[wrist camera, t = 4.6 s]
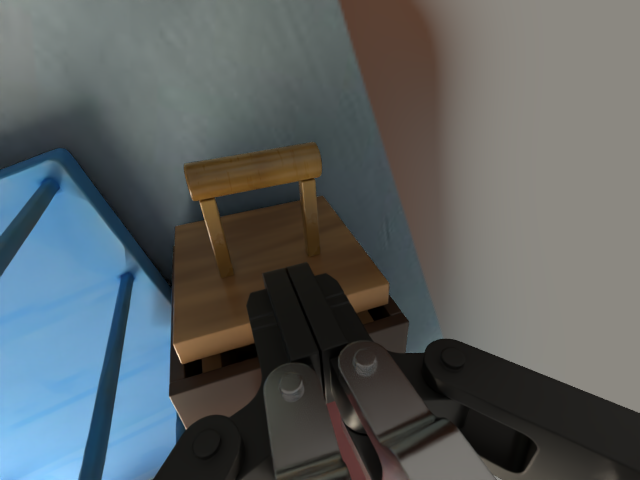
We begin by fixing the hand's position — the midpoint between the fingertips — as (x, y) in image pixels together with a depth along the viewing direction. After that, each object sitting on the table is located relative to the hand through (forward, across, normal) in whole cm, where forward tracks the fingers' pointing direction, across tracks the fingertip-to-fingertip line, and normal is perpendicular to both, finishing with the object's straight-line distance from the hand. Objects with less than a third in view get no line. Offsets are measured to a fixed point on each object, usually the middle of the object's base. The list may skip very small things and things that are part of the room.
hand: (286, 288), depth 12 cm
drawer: (+9, 0, +5) cm, 11 cm away
